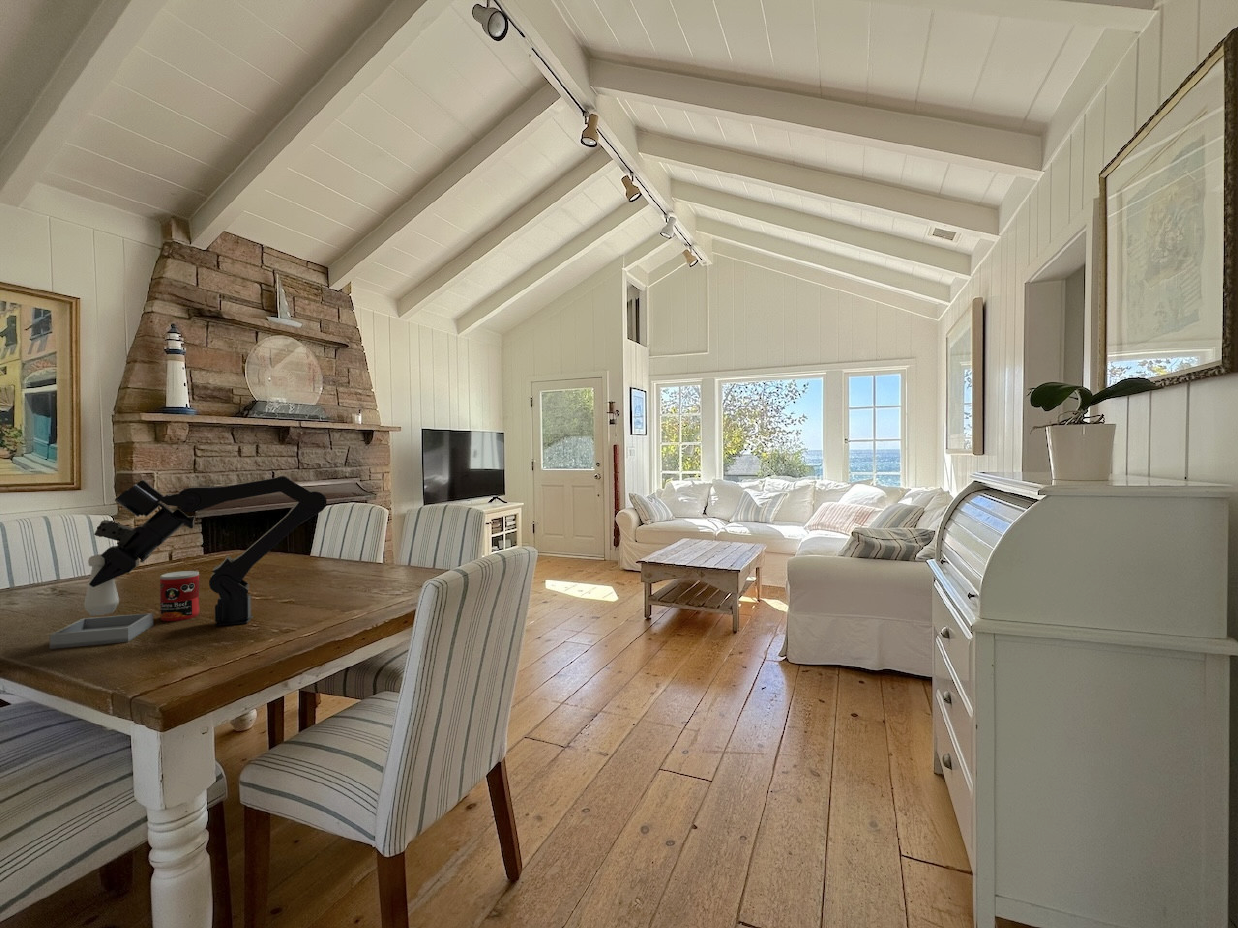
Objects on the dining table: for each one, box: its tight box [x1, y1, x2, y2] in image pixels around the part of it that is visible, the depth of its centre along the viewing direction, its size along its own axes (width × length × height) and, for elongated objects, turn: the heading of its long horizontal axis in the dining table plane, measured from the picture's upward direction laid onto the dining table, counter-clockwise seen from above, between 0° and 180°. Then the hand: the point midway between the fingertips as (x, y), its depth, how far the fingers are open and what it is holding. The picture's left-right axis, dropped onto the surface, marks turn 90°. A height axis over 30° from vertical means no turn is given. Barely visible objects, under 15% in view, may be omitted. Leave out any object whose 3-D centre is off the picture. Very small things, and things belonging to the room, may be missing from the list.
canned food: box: [159, 570, 200, 622], centre depth 142 cm, size 8×8×11 cm
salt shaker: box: [83, 553, 120, 617], centre depth 125 cm, size 6×6×13 cm
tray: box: [49, 612, 154, 650], centre depth 126 cm, size 13×13×3 cm
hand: (93, 584), depth 124 cm, fingers closed on salt shaker, 3 cm apart
